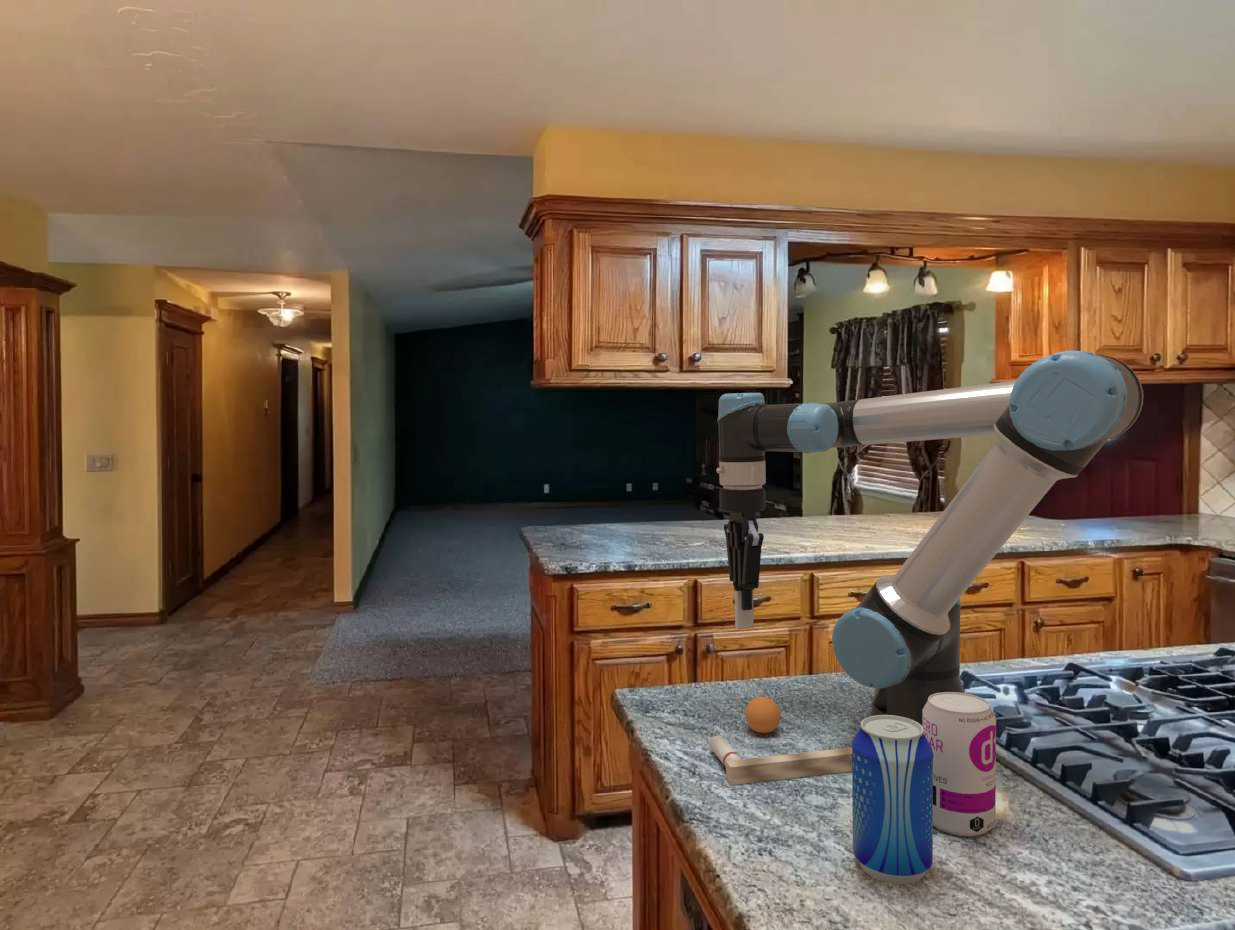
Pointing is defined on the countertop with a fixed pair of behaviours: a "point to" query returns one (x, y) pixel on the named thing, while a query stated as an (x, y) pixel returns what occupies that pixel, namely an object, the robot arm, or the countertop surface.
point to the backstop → (789, 766)
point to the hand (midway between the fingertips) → (744, 627)
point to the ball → (762, 715)
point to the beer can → (892, 799)
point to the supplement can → (962, 762)
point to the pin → (723, 749)
